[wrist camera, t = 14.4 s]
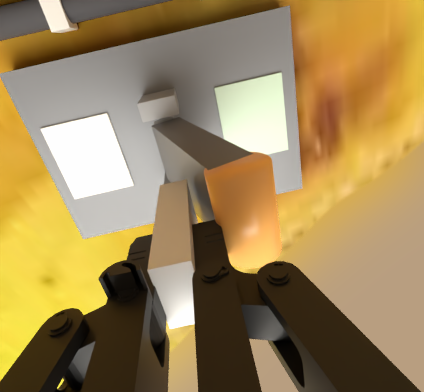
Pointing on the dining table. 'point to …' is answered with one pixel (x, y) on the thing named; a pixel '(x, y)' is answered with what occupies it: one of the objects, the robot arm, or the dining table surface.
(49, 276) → the dining table surface
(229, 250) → the breaker lever
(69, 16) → the dressed cords
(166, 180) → the breaker panel
